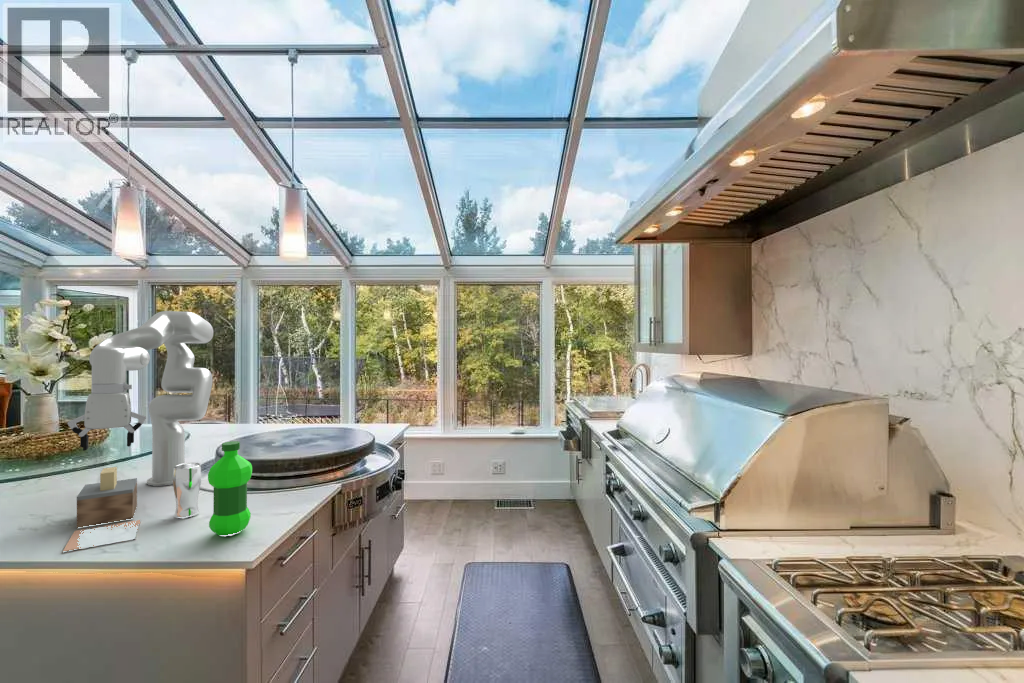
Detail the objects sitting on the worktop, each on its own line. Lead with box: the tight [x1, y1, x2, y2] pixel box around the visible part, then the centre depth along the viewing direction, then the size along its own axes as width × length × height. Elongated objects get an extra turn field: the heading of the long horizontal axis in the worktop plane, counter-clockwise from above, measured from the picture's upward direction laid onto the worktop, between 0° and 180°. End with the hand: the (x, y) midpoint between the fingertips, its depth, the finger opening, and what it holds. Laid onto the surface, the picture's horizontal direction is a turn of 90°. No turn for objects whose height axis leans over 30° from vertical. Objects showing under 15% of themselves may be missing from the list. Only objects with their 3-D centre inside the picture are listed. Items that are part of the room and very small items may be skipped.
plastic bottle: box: [207, 440, 253, 536], centre depth 126 cm, size 10×10×25 cm
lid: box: [76, 466, 138, 501], centre depth 135 cm, size 12×12×7 cm
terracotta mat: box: [62, 519, 141, 552], centre depth 123 cm, size 14×14×1 cm
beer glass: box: [172, 462, 202, 518], centre depth 138 cm, size 7×7×15 cm
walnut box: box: [76, 482, 138, 529], centre depth 135 cm, size 12×12×8 cm
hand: (107, 447), depth 135 cm, fingers open, 9 cm apart
